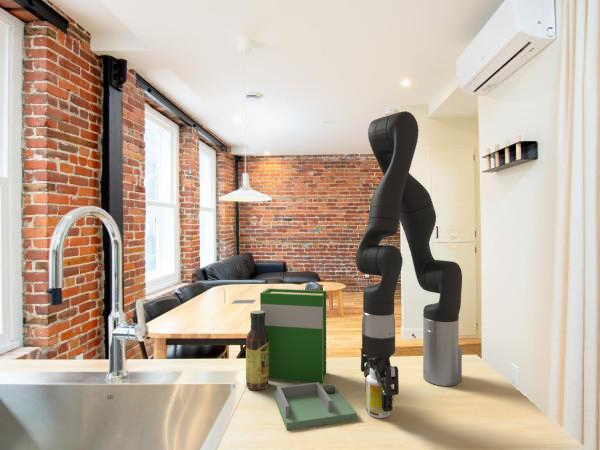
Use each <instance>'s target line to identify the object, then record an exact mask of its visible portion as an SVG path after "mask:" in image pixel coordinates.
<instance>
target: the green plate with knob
mask: <svg viewBox="0 0 600 450" xmlns="http://www.w3.org/2000/svg"><path fill="white" fill-rule="evenodd" d="M273 399H274V401H275V404H276V406H277V408H278V409H277V410H278V411H279V414H280V416H281V419H282V422H283V424H284V426H285V428H286V431H289V430H291V431H292V430H296V429H303V428H309V427H317V426H323V425H329V424H330V425H331V424H336V423H337V424H338V423H344V422H352V421H357V420H358V417H357V416H358V412H357V411H356V410H355V409H354V408H353V406H352V405H351V404H350V403H349V401H348V400H347V399H346V398H345V396H344V395H343V394H342V393H341V391H340V390H339V389H338V387H337V386H336V385H335V384H333V383H332V384H320V383H319V382H315V383H307V382H305V383H299V384H291V385H282V386H281V385H280V386H276V390H274V391H273Z"/></svg>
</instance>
